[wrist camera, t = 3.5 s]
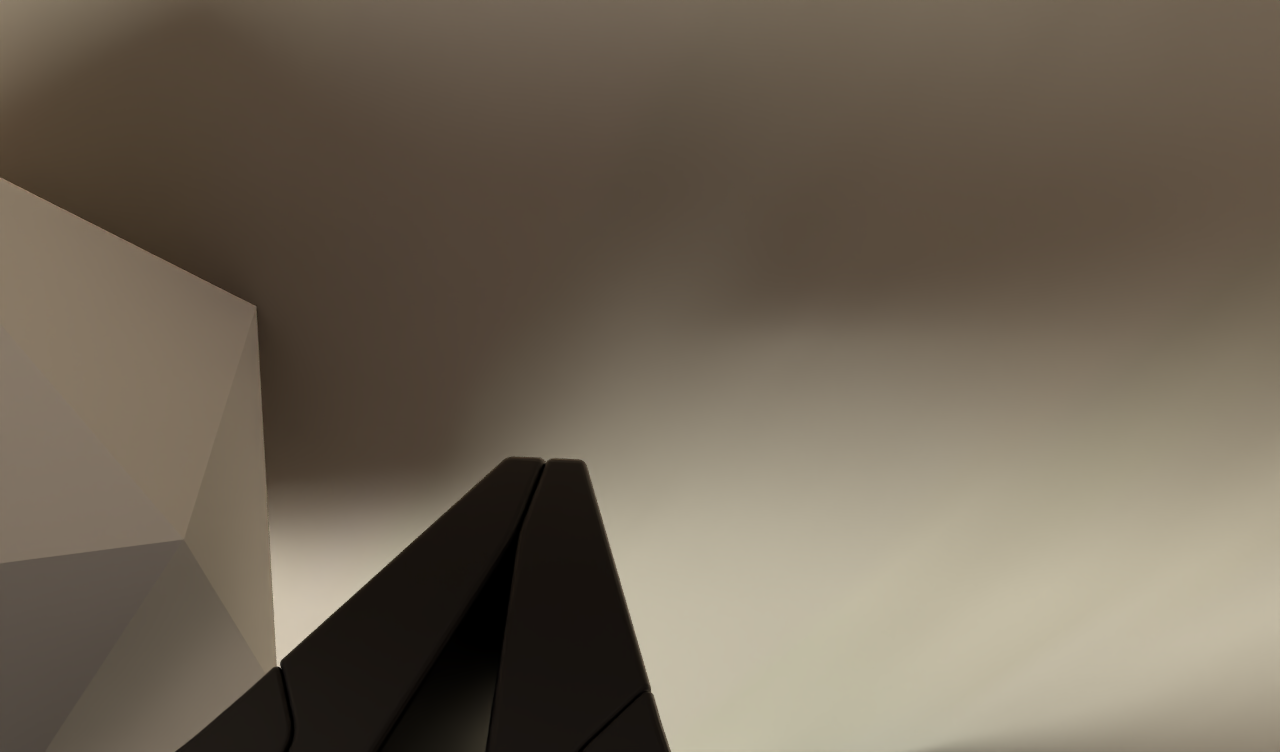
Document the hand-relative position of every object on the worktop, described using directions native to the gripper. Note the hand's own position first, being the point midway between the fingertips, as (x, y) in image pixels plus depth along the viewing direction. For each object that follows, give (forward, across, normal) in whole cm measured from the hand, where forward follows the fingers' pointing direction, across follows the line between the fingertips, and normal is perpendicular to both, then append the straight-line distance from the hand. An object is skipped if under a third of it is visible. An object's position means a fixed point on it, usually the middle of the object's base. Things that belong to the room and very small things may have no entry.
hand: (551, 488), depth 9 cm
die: (+3, +7, 0) cm, 8 cm away
